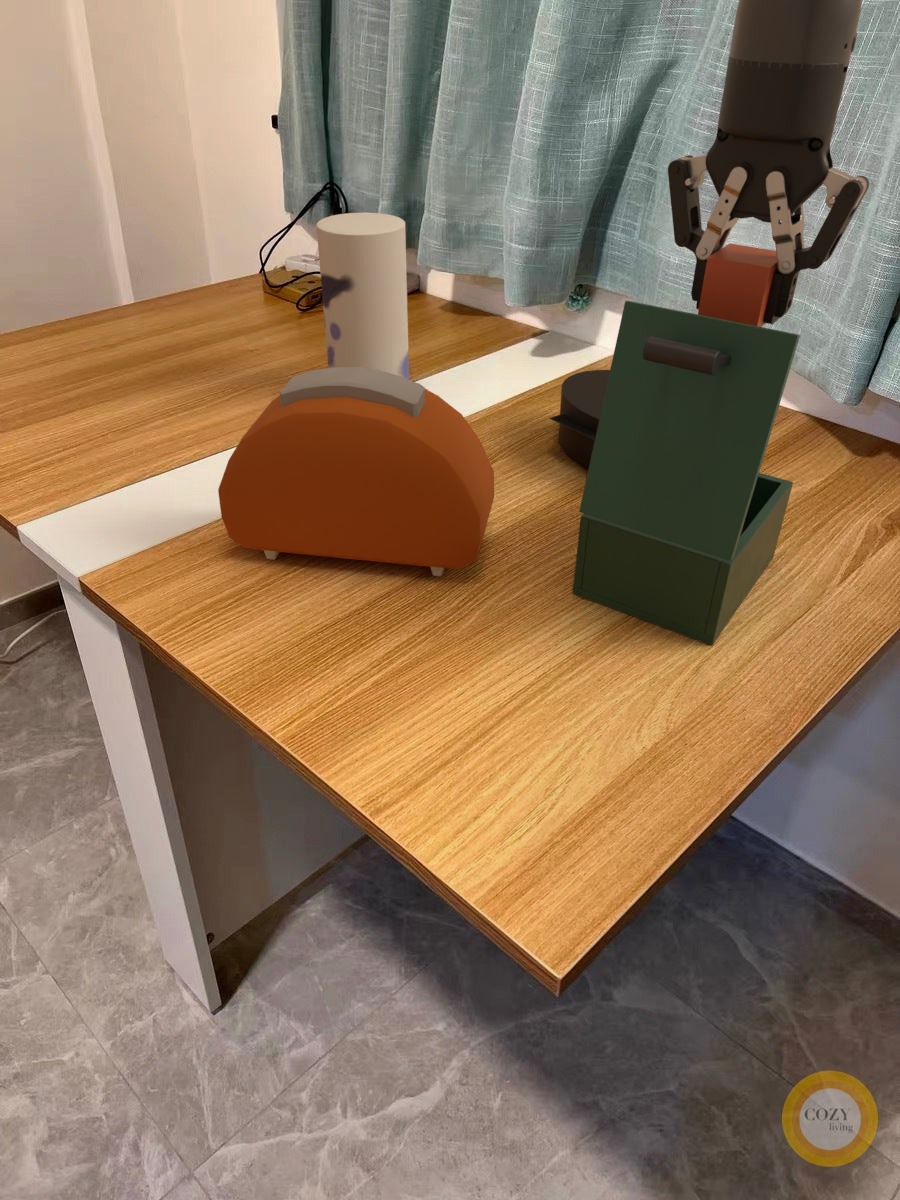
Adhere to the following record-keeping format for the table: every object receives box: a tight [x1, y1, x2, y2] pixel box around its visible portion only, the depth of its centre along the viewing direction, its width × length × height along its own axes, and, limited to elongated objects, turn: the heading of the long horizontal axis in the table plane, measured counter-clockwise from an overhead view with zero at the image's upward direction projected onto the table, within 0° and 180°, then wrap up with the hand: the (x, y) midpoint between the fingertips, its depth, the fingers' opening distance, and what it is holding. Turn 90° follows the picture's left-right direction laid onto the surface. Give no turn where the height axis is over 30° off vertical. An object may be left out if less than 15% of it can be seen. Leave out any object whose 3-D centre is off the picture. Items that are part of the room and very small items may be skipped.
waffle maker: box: [548, 369, 610, 471], centre depth 96 cm, size 14×18×8 cm
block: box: [697, 243, 778, 327], centre depth 66 cm, size 5×5×5 cm
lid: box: [578, 300, 801, 561], centre depth 64 cm, size 16×13×5 cm
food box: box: [572, 472, 794, 646], centre depth 77 cm, size 16×13×8 cm
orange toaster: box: [217, 367, 495, 577], centre depth 78 cm, size 23×9×17 cm, turn 80°
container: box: [316, 212, 410, 380], centre depth 106 cm, size 10×10×20 cm
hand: (737, 313), depth 68 cm, fingers closed on block, 4 cm apart
